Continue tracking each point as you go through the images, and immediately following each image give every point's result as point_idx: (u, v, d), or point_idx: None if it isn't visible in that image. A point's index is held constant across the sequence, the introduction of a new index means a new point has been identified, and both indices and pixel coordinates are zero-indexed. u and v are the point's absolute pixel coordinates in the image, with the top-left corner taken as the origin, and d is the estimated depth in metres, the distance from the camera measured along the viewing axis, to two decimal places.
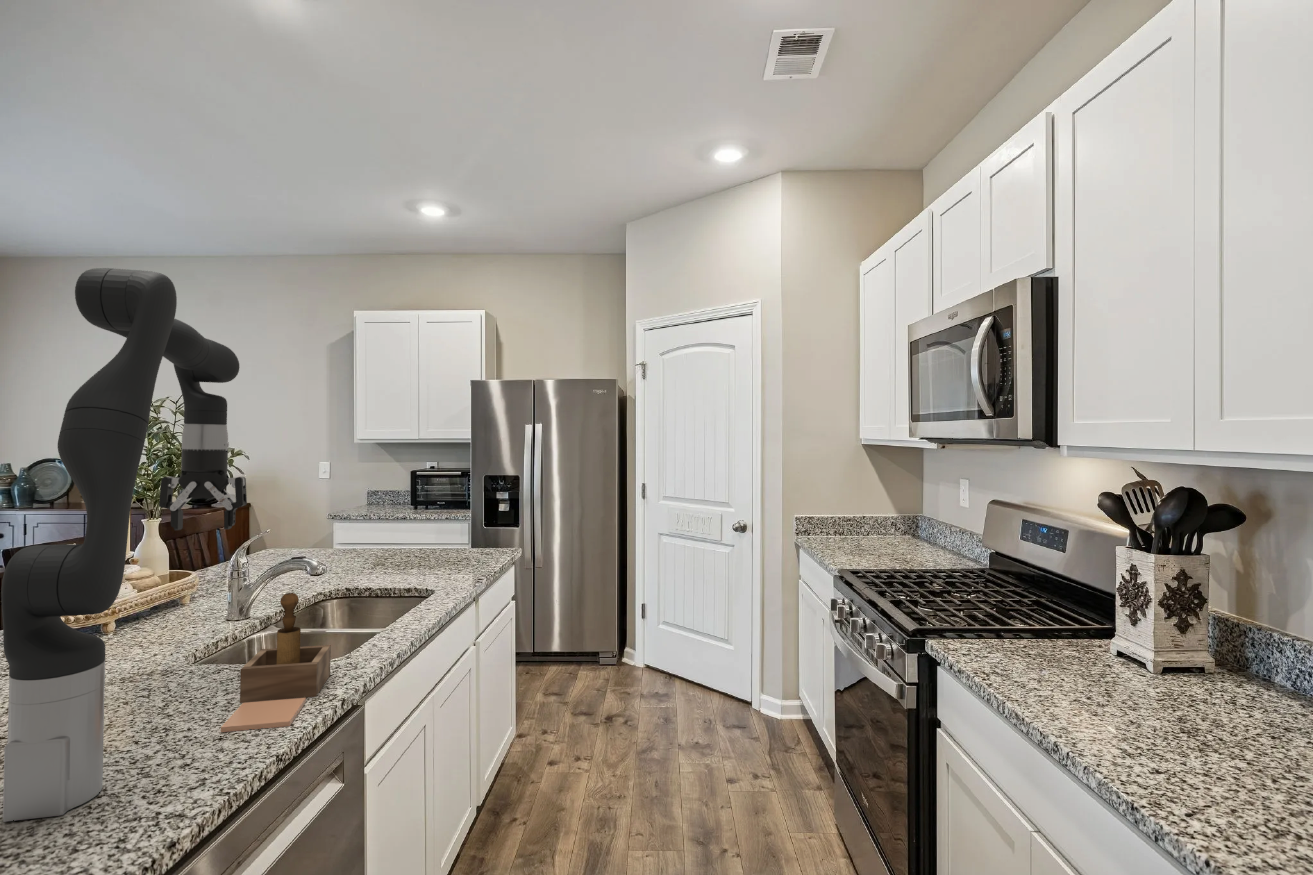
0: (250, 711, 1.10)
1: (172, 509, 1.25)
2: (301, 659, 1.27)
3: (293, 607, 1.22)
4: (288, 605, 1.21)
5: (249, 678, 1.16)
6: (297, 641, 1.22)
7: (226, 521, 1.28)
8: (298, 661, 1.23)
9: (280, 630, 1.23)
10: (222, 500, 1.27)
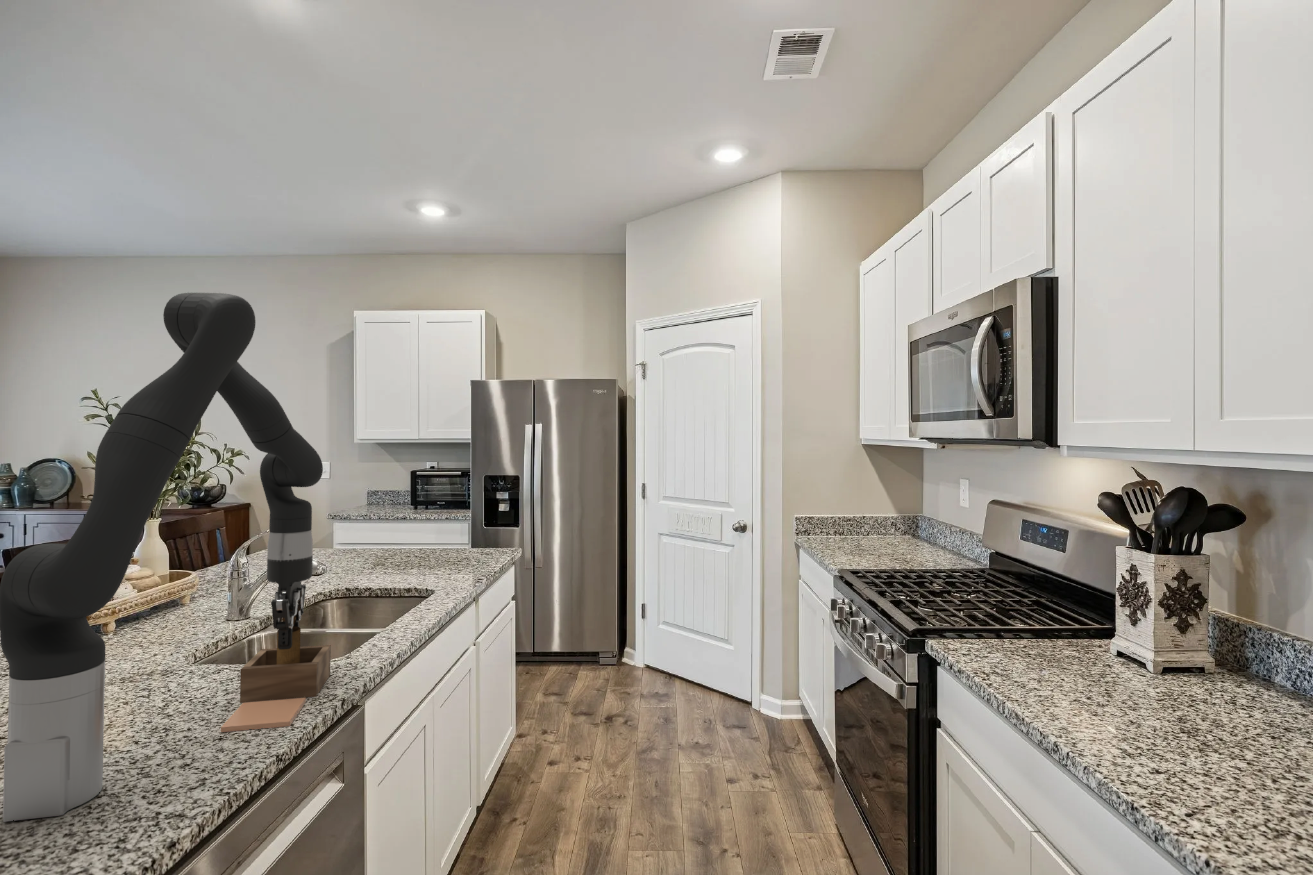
0: (250, 711, 1.10)
1: (291, 627, 1.20)
2: (301, 659, 1.27)
3: None
4: None
5: (249, 678, 1.16)
6: (297, 641, 1.22)
7: None
8: (298, 661, 1.23)
9: None
10: (300, 609, 1.25)
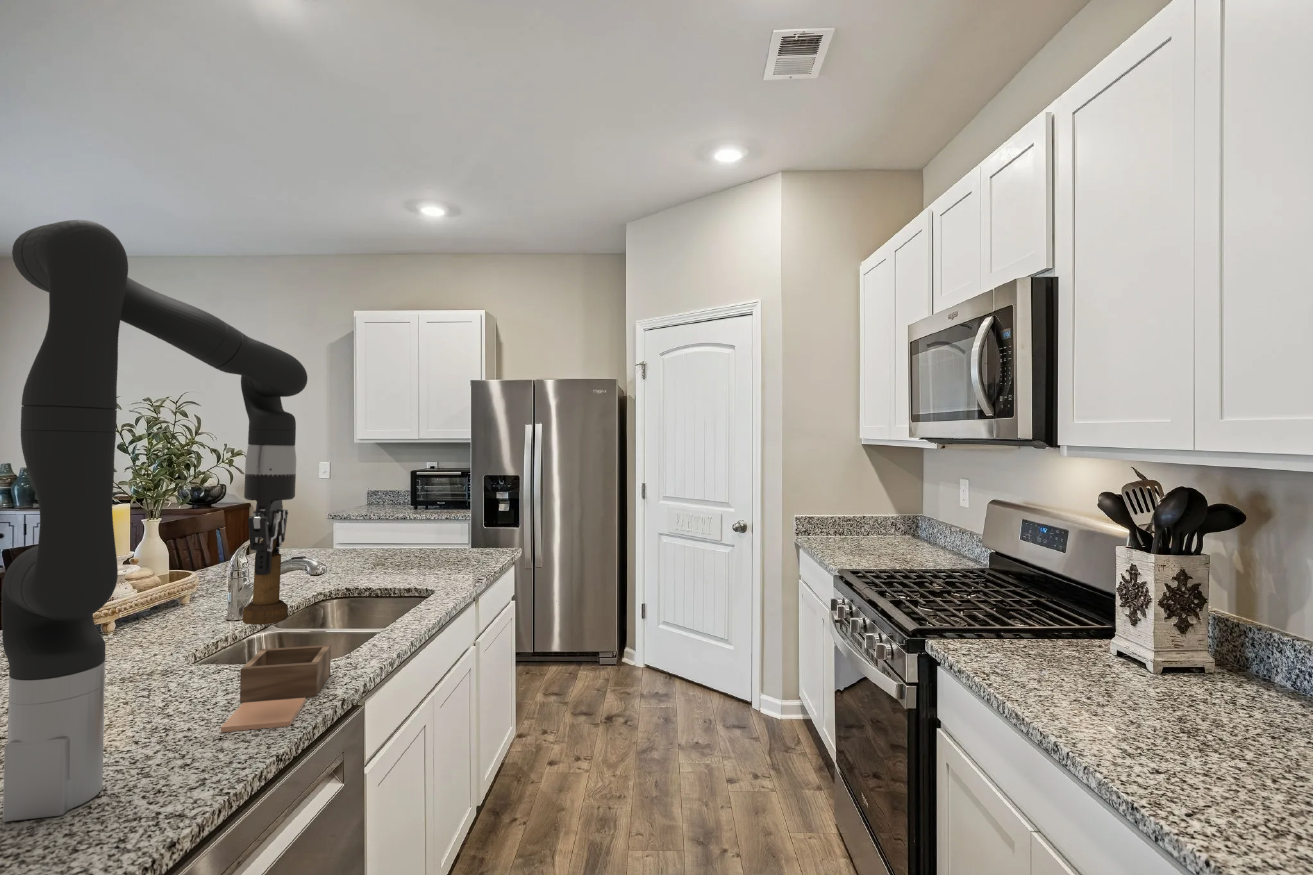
0: (250, 711, 1.10)
1: (270, 550, 1.08)
2: (301, 659, 1.27)
3: None
4: None
5: (249, 678, 1.16)
6: (277, 567, 1.10)
7: None
8: (278, 590, 1.10)
9: None
10: (281, 534, 1.13)
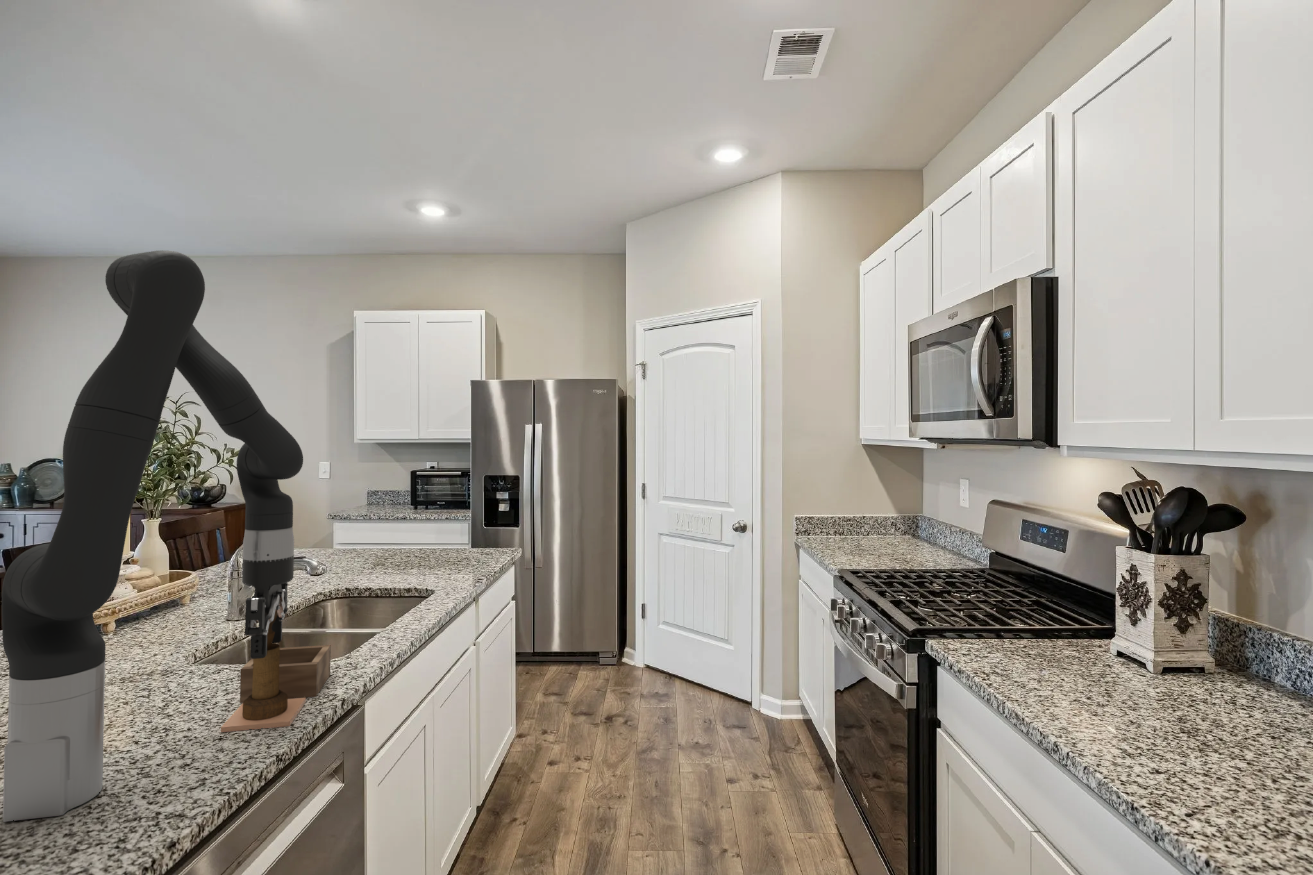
0: None
1: (266, 633, 1.06)
2: (301, 659, 1.27)
3: (271, 622, 1.09)
4: None
5: (249, 678, 1.16)
6: (276, 660, 1.09)
7: (281, 633, 1.14)
8: (277, 682, 1.10)
9: None
10: None
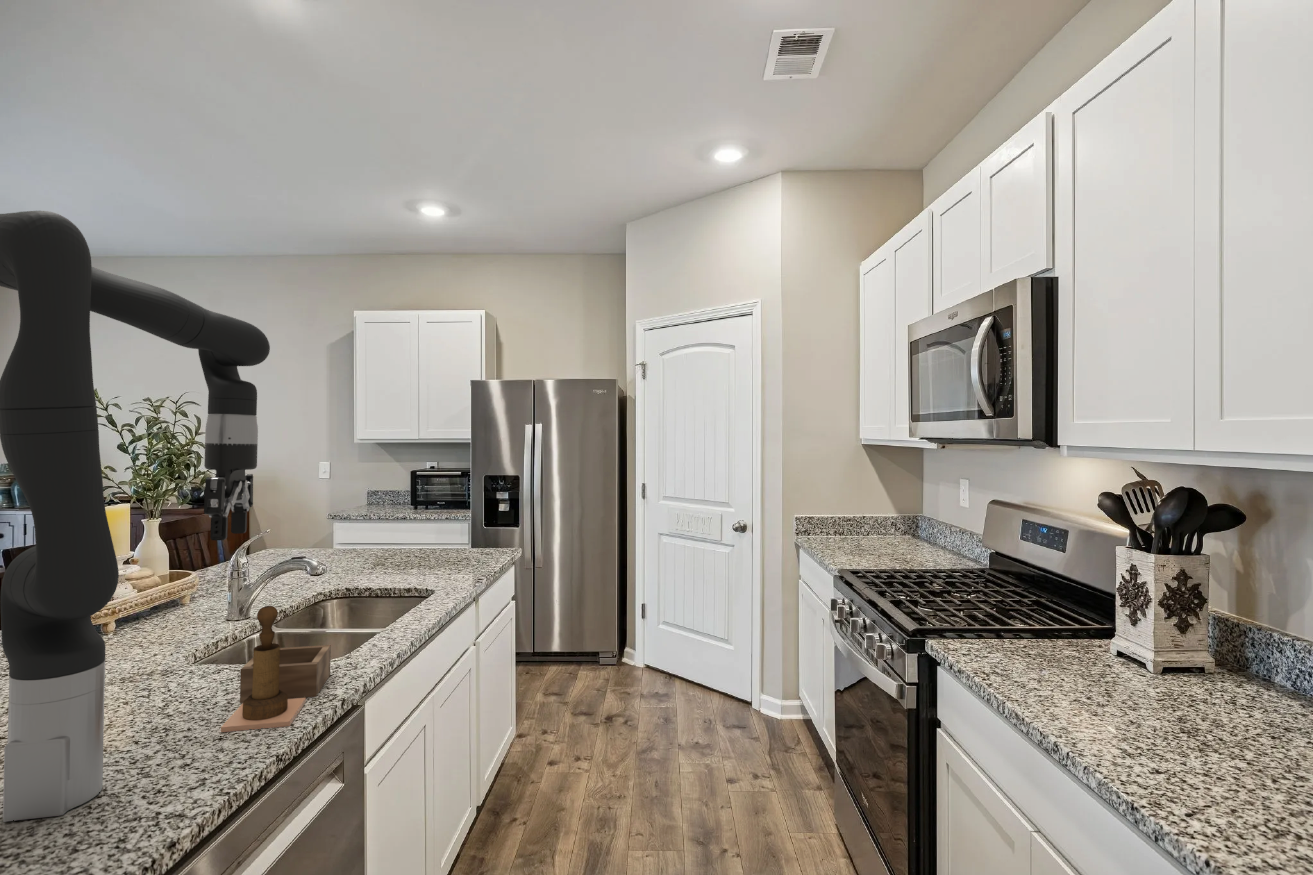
0: None
1: (226, 515, 1.06)
2: (301, 659, 1.27)
3: (271, 622, 1.09)
4: (265, 619, 1.09)
5: (249, 678, 1.16)
6: (276, 660, 1.09)
7: (245, 524, 1.14)
8: (277, 682, 1.10)
9: (257, 647, 1.10)
10: None
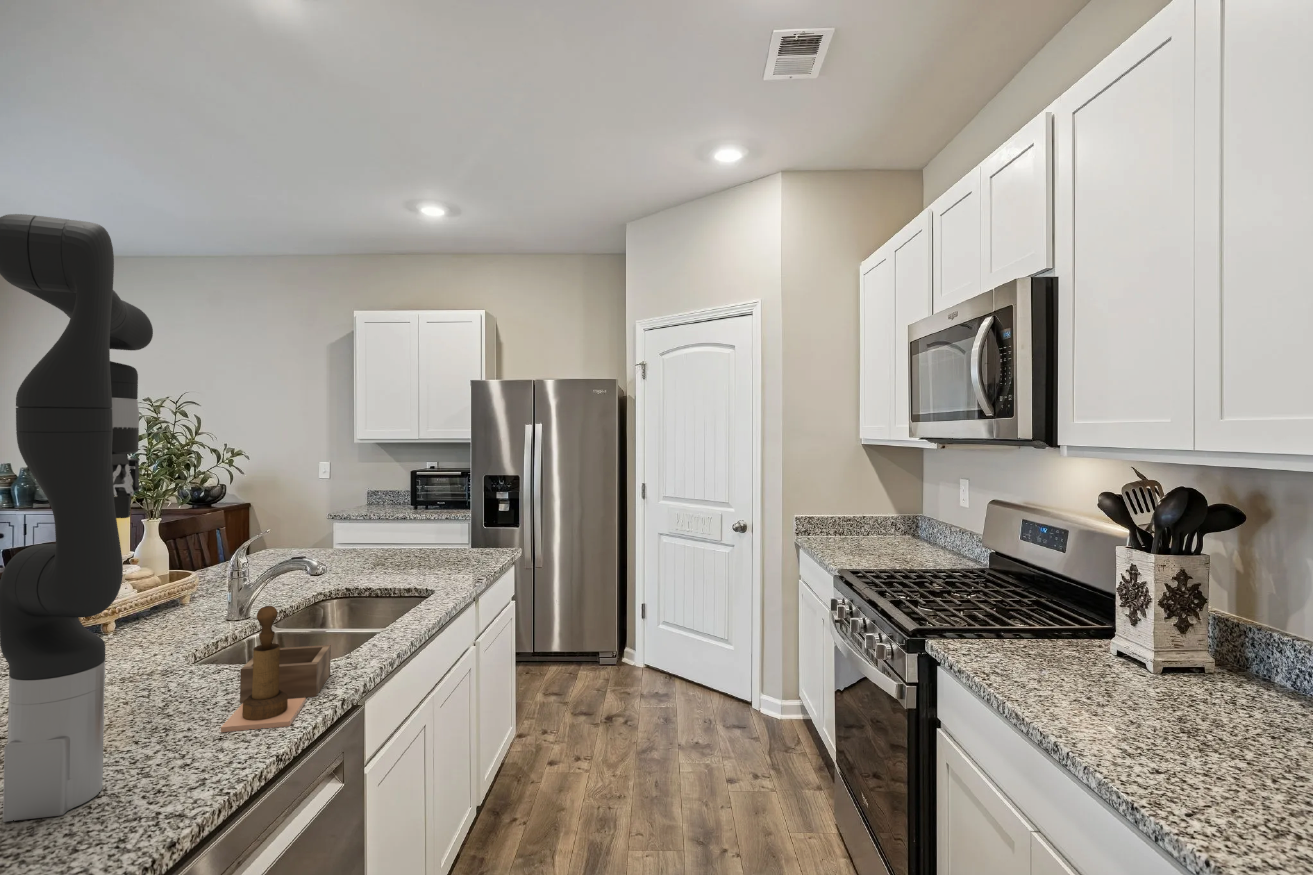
0: None
1: None
2: (301, 659, 1.27)
3: (271, 622, 1.09)
4: (265, 619, 1.09)
5: (249, 678, 1.16)
6: (276, 660, 1.09)
7: (129, 508, 1.14)
8: (277, 682, 1.10)
9: (257, 647, 1.10)
10: None
